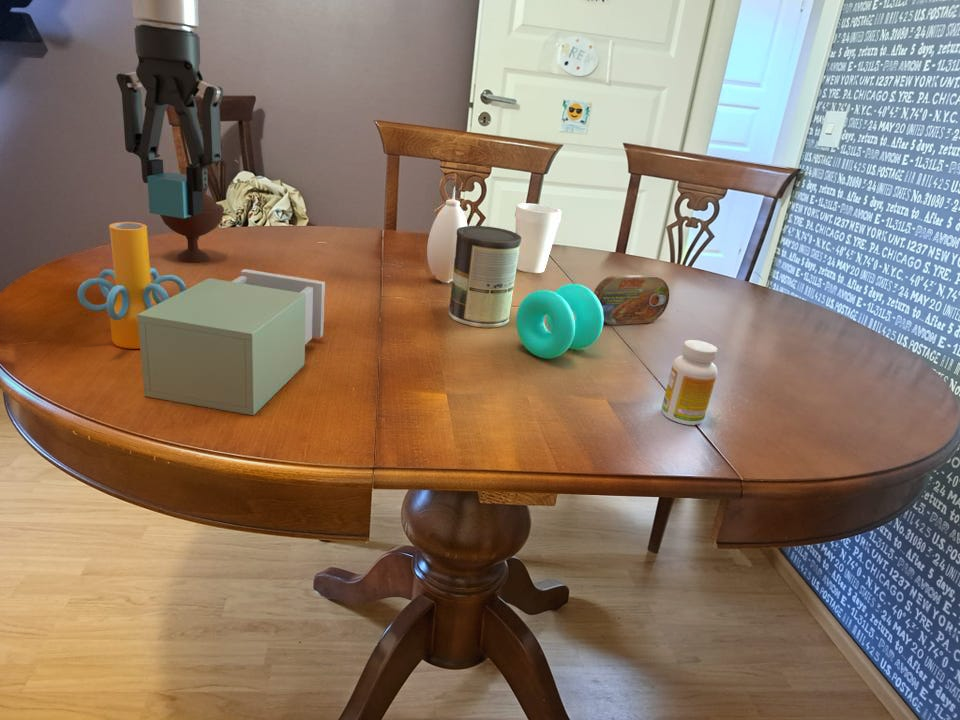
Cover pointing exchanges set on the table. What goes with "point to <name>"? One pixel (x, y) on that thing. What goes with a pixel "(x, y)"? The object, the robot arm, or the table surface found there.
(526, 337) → the donuts
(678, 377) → the supplement bottle
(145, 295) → the cylinder
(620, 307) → the tin
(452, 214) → the sauce bottle
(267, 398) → the green box
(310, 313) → the light grey drawer
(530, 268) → the foam cup
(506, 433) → the table surface
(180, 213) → the teal cube
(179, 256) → the ice cream bowl
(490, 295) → the coffee can
